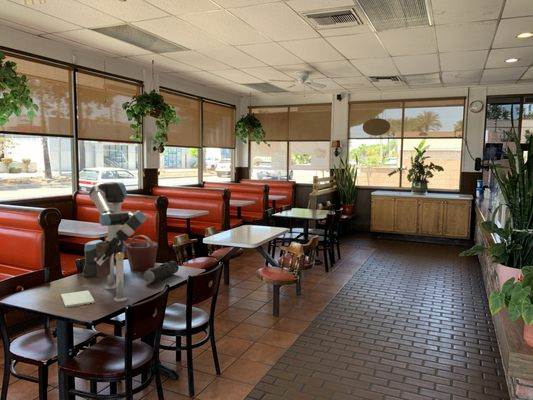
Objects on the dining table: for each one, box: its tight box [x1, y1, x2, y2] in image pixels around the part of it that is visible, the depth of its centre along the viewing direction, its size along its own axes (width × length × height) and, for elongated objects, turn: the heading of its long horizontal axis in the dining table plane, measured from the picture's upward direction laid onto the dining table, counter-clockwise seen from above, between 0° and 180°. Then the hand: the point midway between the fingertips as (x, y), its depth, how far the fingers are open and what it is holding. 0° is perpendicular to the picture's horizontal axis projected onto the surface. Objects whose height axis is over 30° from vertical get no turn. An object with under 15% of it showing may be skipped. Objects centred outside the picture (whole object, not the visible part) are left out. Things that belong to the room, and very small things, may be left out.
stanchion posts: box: [104, 252, 128, 303], centre depth 252 cm, size 7×33×28 cm, turn 32°
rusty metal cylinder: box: [96, 242, 110, 278], centre depth 247 cm, size 8×7×20 cm
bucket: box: [125, 234, 159, 273], centre depth 309 cm, size 24×22×25 cm
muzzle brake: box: [142, 260, 179, 284], centre depth 284 cm, size 10×28×10 cm, turn 158°
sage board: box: [60, 290, 96, 308], centre depth 242 cm, size 15×22×1 cm
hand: (97, 262), depth 246 cm, fingers closed on rusty metal cylinder, 7 cm apart
